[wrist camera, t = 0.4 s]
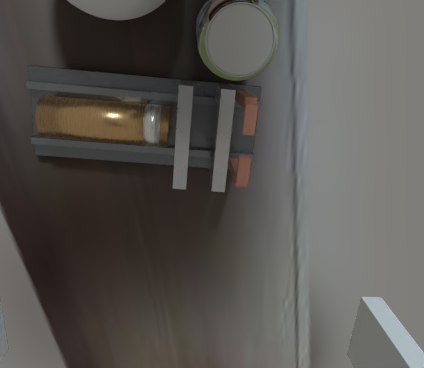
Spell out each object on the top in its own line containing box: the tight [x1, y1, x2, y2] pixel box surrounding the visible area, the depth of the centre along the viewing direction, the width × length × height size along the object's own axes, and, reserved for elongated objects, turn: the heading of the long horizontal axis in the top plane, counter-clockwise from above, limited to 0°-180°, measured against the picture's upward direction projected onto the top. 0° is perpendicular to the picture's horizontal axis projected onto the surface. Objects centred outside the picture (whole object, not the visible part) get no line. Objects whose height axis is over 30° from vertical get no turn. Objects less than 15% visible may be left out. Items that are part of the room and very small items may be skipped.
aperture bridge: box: [228, 90, 258, 188], centre depth 34 cm, size 8×1×8 cm, turn 175°
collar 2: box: [209, 83, 236, 192], centre depth 34 cm, size 9×1×7 cm, turn 175°
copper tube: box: [35, 95, 171, 147], centre depth 35 cm, size 12×4×4 cm, turn 85°
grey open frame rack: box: [26, 66, 261, 170], centre depth 37 cm, size 9×23×2 cm, turn 85°
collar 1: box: [173, 80, 194, 189], centre depth 34 cm, size 9×1×7 cm, turn 175°
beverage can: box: [196, 0, 279, 81], centre depth 30 cm, size 6×7×12 cm
